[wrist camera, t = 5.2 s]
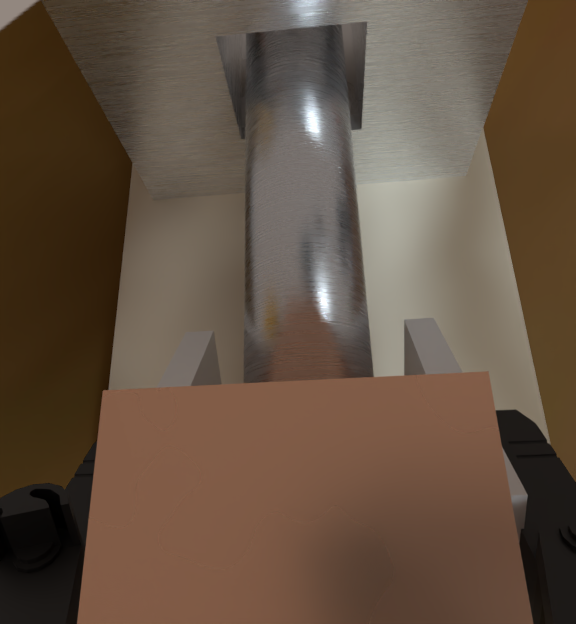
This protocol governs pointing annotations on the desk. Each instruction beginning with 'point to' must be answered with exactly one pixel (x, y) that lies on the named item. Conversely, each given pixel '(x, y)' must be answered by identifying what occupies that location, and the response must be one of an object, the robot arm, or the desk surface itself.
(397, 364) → the base board
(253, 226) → the shaft
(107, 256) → the desk surface
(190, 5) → the bearing block
